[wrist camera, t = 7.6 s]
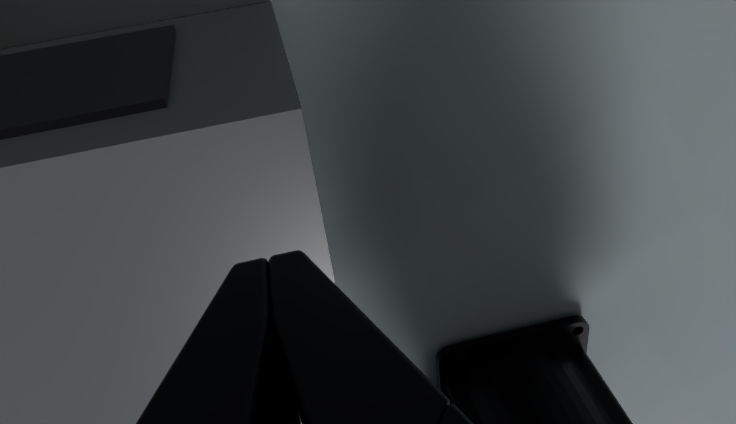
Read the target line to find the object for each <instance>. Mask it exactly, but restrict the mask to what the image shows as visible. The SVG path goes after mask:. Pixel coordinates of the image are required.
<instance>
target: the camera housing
mask: <svg viewBox="0 0 736 424" xmlns="http://www.w3.org/2000/svg"><path fill="white" fill-rule="evenodd" d="M295 250H300V251H302V252H304V253H305V254H306V255H307V256H308V257H309V258H310V259H311V260H312V261H313V262H314V263H315V264H316V265H317V266H318V267H319V268H320V269H321V270H322V271H323V273H324V274H325V275H326V276H327V277H328V278H329V279H330V280H331V281H332V282H333V283H334V284H335V280H334V275H333V269H332V264H331V259H330V254H329V249H328V244H327V238H326V233H325V228H324V223H323V218H322V212H321V207H320V202H319V197H318V192H317V187H316V181H315V176H314V171H313V166H312V161H311V155H310V150H309V145H308V140H307V135H306V129H305V124H304V119H303V114H302V109H301V105H300V102H299V98H298V95H297V91H296V88H295V84H294V81H293V78H292V74H291V71H290V67H289V64H288V60H287V57H286V53H285V50H284V47H283V43H282V40H281V36H280V33H279V29H278V26H277V22H276V19H275V15H274V12H273V9H272V5H271V2H264V3H258V4H253V5H247V6H242V7H236V8H230V9H225V10H219V11H214V12H208V13H203V14H197V15H191V16H186V17H180V18H175V19H169V20H163V21H158V22H152V23H147V24H141V25H136V26H130V27H124V28H119V29H113V30H108V31H102V32H96V33H91V34H85V35H80V36H74V37H68V38H63V39H57V40H52V41H46V42H41V43H35V44H29V45H24V46H18V47H13V48H7V49H1V50H0V424H136V422H137V421H138V419H139V418H140V416H141V414H142V413H143V411H144V409H145V408H146V406H147V405H148V403H149V401H150V400H151V398H152V396H153V395H154V393H155V392H156V390H157V388H158V387H159V385H160V383H161V382H162V380H163V379H164V377H165V375H166V374H167V372H168V370H169V369H170V367H171V366H172V364H173V362H174V361H175V359H176V357H177V356H178V354H179V353H180V351H181V349H182V348H183V346H184V344H185V343H186V341H187V340H188V338H189V336H190V335H191V333H192V331H193V330H194V328H195V327H196V325H197V323H198V322H199V320H200V318H201V317H202V315H203V314H204V312H205V310H206V309H207V307H208V305H209V304H210V302H211V301H212V299H213V297H214V296H215V294H216V292H217V291H218V289H219V288H220V286H221V284H222V283H223V281H224V279H225V278H226V276H227V275H228V273H229V271H230V270H231V268H232V267H233V266H234V265H235V264H237V263H241V262H245V261H250V260H254V259H259V258H265V259H267V260H268V262H269V259H270V257H271V256H273V255H277V254H282V253H286V252H291V251H295ZM301 424H302V423H301Z"/></svg>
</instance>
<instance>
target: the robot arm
mask: <svg viewBox="0 0 736 424" xmlns="http://www.w3.org/2000/svg"><path fill="white" fill-rule="evenodd" d="M588 334H589V325H588V323H587V322H586V321H585V319H584V318H583V317H582V316H579V315H577V316H571V317H567V318H563V319H559V320H555V321H551V322H546V323H542V324H538V325H534V326H530V327H526V328H522V329H518V330H513V331H509V332H505V333H501V334H497V335H493V336H489V337H484V338H480V339H476V340H472V341H468V342H464V343H460V344H456V345H451V346H447V347H445V348H442V349H441V350H440V351H439V352H438V353H437V356H436V363H437V375H438V388H439V389H438V388H437V387H436V386H435V385H434V384H433V383H432V382H431V381H430V380H429V379H428V378H427V377H426V376H425V375H424V374H423V373H422V372H421V371H420V370H419V369H418V368H417V367H416V366H415V365H414V364H413V363H412V362H411V361H410V360H409V359H408V358H407V357H406V356H405V355H404V354H403V352H402V351H401V350H400V349H399V348H398V347H397V346H396V345H395V344H394V343H393V342H392V341H391V340H390V339H389V338H388V337H387V336H386V335H385V334H384V333H383V332H382V331H381V330H380V329H379V328H378V327H377V326H376V325H375V324H374V323H373V322H372V321H371V320H370V319H369V318H368V317H367V316H366V315H365V314H364V313H363V312H362V311H361V310H360V309H359V308H358V307H357V306H356V305H355V304H354V303H353V302H352V301H351V300H350V299H349V298H348V297H347V296H346V295H345V294H344V293H343V292H342V291H341V290H340V289H339V288H338V287H337V286H336V285H335V284H334V283H333V282H332V281H331V280H330V279H329V278H328V277H327V276H326V275H325V274H324V273H323V271H322V270H321V269H320V268H319V267H318V266H317V265H316V264H315V263H314V262H313V261H312V260H311V259H310V258H309V257H308V256H307V255H306V254H305V253H304V252H302V251H300V250H295V251H291V252H286V253H282V254H277V255H273V256H271V257H270V259H269V262H268V260H267V259H265V258H259V259H254V260H250V261H245V262H241V263H237V264H235V265H234V266H233V267H232V268H231V270H230V271H229V273H228V275H227V276H226V278H225V279H224V281H223V283H222V284H221V286H220V288H219V289H218V291H217V292H216V294H215V296H214V297H213V299H212V301H211V302H210V304H209V305H208V307H207V309H206V310H205V312H204V314H203V315H202V317H201V318H200V320H199V322H198V323H197V325H196V327H195V328H194V330H193V331H192V333H191V335H190V336H189V338H188V340H187V341H186V343H185V344H184V346H183V348H182V349H181V351H180V353H179V354H178V356H177V357H176V359H175V361H174V362H173V364H172V366H171V367H170V369H169V370H168V372H167V374H166V375H165V377H164V379H163V380H162V382H161V383H160V385H159V387H158V388H157V390H156V392H155V393H154V395H153V396H152V398H151V400H150V401H149V403H148V405H147V406H146V408H145V409H144V411H143V413H142V414H141V416H140V418H139V419H138V421H137V422H136V424H301V423H302V424H632V422H631V420H630V419H629V417H628V416H627V414H626V413H625V411H624V410H623V408H622V407H621V405H620V404H619V402H618V401H617V399H616V398H615V396H614V395H613V393H612V392H611V390H610V389H609V387H608V386H607V384H606V383H605V381H604V380H603V378H602V377H601V375H600V374H599V372H598V371H597V369H596V368H595V366H594V365H593V363H592V362H591V360H590V359H589V357H588V356H587V354H586V351H587V343H588ZM449 358H450V359H449Z"/></svg>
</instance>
